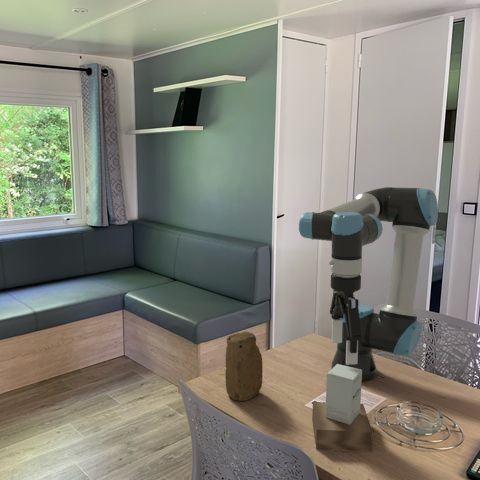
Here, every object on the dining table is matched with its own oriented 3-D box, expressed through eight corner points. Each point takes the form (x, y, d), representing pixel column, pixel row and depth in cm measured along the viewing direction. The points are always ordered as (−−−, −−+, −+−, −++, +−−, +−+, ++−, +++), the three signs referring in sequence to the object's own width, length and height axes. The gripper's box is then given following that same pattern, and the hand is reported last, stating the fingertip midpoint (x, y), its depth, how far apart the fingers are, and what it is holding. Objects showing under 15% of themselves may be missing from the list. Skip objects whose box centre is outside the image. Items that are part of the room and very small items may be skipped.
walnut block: (362, 423, 138) (363, 403, 137) (371, 453, 124) (372, 431, 123) (312, 421, 139) (312, 401, 138) (316, 451, 125) (316, 429, 124)
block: (235, 404, 147) (235, 341, 144) (223, 394, 154) (222, 334, 150) (265, 395, 153) (265, 334, 149) (252, 385, 159) (252, 327, 155)
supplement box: (351, 425, 125) (353, 380, 123) (324, 417, 129) (325, 372, 127) (360, 413, 131) (363, 369, 129) (335, 405, 135) (336, 362, 133)
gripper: (319, 262, 135) (318, 335, 139) (345, 287, 111) (343, 374, 115) (346, 262, 136) (344, 334, 140) (377, 286, 112) (374, 373, 115)
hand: (343, 352), depth 127 cm, fingers open, 13 cm apart
